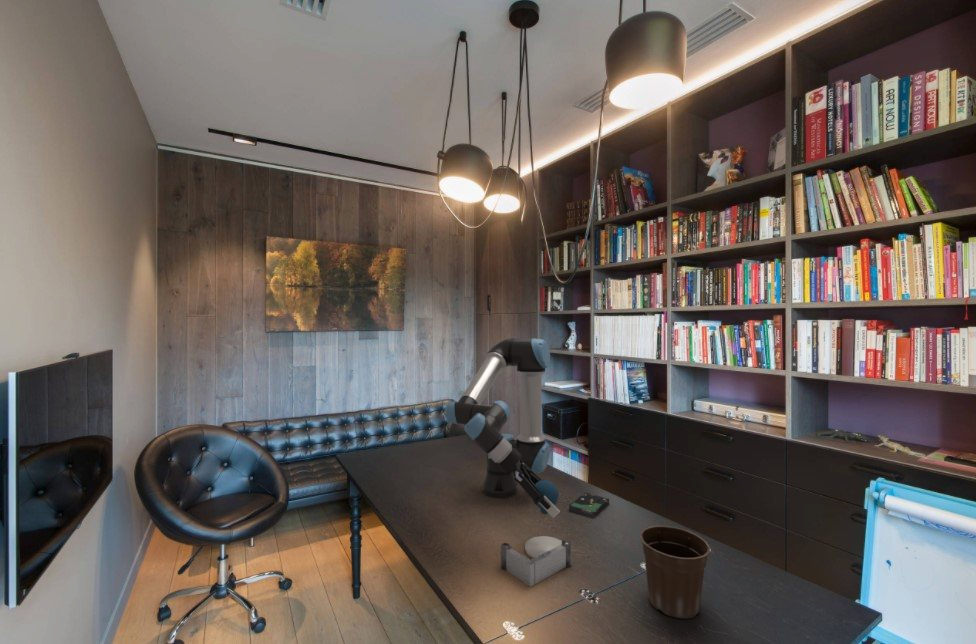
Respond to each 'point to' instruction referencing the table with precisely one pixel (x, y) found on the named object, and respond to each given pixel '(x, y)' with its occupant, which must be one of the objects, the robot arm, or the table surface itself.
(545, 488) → the dark blue rounded piece
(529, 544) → the coaster
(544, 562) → the bent rail
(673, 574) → the plant pot
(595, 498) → the disk drive
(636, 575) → the table surface
